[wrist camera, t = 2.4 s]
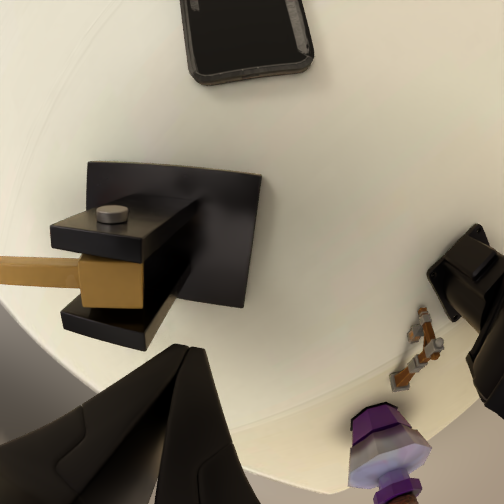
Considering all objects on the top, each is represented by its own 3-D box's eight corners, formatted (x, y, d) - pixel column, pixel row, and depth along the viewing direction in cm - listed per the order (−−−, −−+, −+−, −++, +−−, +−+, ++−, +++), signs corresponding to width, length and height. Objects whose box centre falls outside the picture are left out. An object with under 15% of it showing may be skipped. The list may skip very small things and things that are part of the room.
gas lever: (-45, 280, 10) (-70, 305, 8) (-54, 229, 9) (-83, 247, 6) (144, 290, 15) (143, 324, 12) (144, 230, 14) (141, 254, 11)
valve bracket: (96, 275, 21) (21, 341, 12) (95, 160, 18) (-4, 175, 9) (244, 300, 21) (230, 400, 12) (262, 174, 18) (259, 193, 9)
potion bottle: (388, 440, 27) (412, 519, 15) (323, 441, 27) (335, 534, 15) (424, 391, 24) (467, 477, 13) (354, 390, 24) (386, 499, 12)
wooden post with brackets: (436, 299, 20) (453, 348, 16) (400, 350, 25) (409, 391, 22) (418, 300, 20) (435, 351, 16) (384, 352, 25) (392, 394, 22)
